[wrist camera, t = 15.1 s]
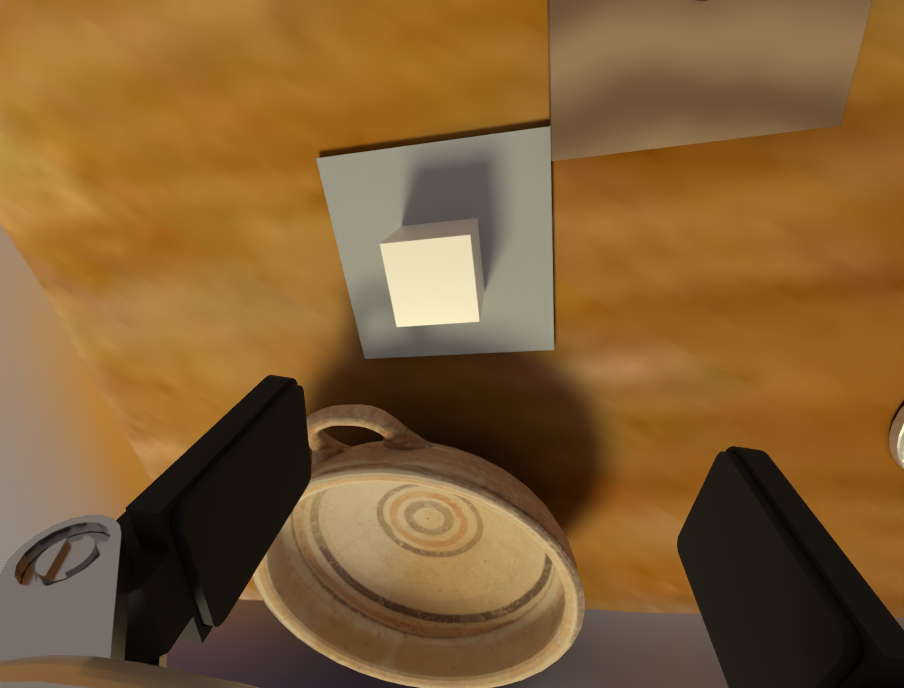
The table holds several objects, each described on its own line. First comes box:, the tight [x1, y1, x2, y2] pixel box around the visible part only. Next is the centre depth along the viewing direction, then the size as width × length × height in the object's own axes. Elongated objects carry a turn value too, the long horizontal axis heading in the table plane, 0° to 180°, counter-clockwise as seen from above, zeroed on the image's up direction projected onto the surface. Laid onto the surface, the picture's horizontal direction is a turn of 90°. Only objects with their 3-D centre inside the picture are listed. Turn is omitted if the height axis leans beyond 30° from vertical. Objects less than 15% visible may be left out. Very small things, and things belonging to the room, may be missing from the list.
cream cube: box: [380, 218, 485, 327], centre depth 29 cm, size 6×6×6 cm
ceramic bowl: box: [252, 404, 585, 688], centre depth 39 cm, size 37×29×10 cm
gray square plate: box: [316, 126, 554, 359], centre depth 31 cm, size 16×16×1 cm
